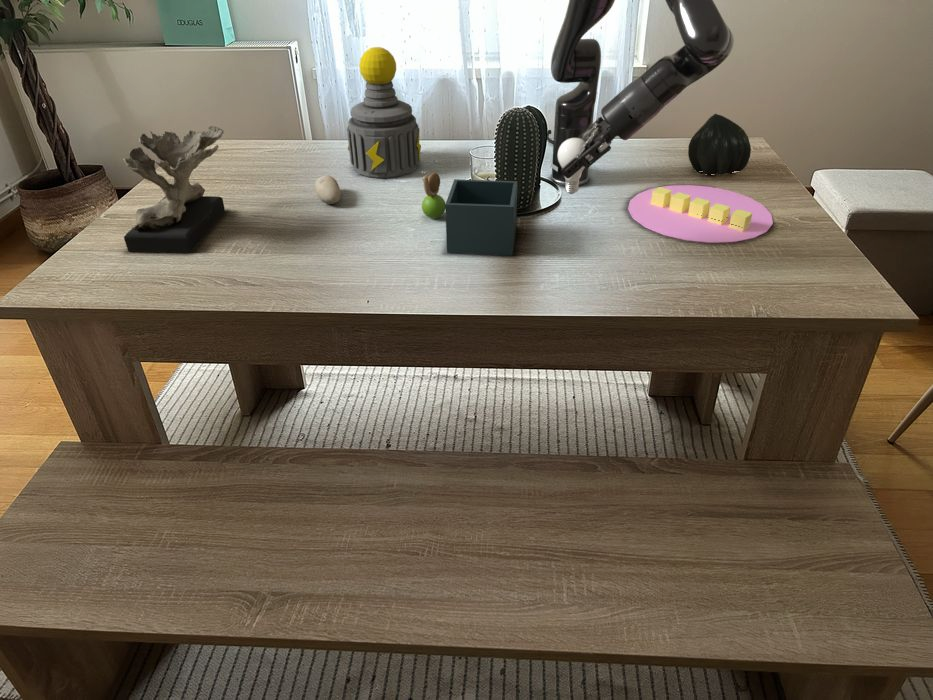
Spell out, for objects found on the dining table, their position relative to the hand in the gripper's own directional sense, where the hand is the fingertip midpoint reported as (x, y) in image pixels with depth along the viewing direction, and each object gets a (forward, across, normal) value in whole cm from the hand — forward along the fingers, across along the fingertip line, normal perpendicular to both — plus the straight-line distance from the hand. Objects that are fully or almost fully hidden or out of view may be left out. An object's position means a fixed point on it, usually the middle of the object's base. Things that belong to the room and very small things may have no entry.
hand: (564, 167), depth 137 cm
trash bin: (+24, -2, 0) cm, 24 cm away
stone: (+52, -20, -27) cm, 62 cm away
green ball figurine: (+33, -12, -8) cm, 36 cm away
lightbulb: (+3, 0, +5) cm, 6 cm away
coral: (+70, -1, -45) cm, 83 cm away
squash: (-15, -48, +40) cm, 64 cm away
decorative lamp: (+46, -43, -21) cm, 66 cm away
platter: (-10, -21, +35) cm, 42 cm away
